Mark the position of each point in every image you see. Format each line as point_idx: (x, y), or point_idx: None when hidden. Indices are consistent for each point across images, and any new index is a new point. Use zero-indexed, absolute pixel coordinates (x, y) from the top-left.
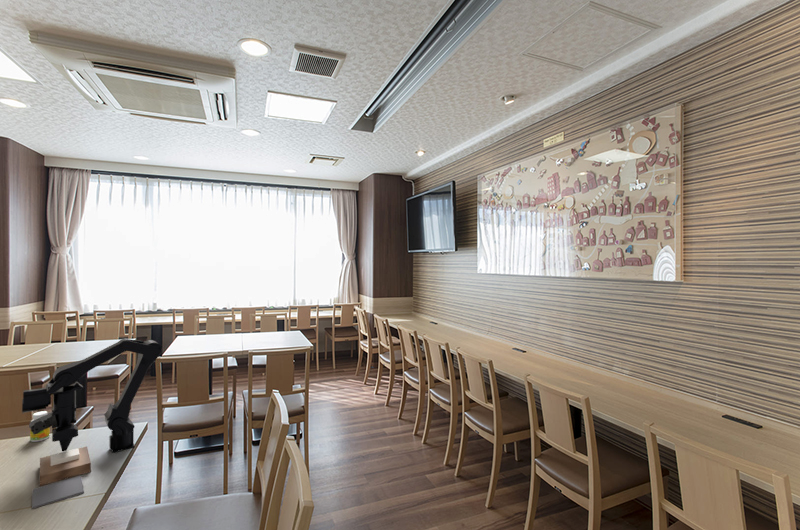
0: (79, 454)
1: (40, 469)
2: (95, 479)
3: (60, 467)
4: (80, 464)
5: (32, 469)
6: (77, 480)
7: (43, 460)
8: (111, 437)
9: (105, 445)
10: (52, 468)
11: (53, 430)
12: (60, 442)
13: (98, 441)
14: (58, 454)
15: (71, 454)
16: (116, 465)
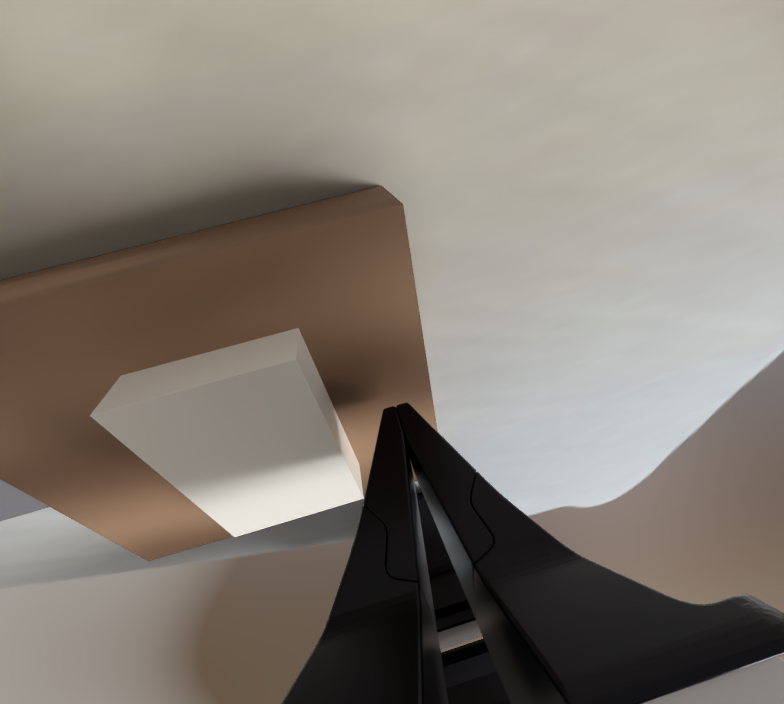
0: (235, 532)
1: (20, 308)
2: (66, 537)
3: (76, 452)
4: (123, 534)
5: (360, 120)
6: (17, 500)
7: (303, 267)
8: (430, 576)
9: (495, 459)
10: (50, 407)
11: (693, 683)
12: (358, 528)
13: (574, 422)
14: (284, 421)
15: (243, 502)
16: (224, 549)
